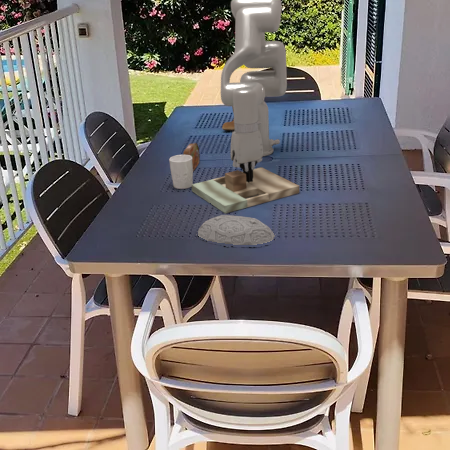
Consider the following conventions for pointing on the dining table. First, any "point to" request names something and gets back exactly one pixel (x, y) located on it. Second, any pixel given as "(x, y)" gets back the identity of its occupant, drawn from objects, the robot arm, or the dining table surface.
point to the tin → (193, 154)
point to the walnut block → (235, 180)
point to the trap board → (245, 191)
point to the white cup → (181, 171)
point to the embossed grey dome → (235, 230)
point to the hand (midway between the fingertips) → (248, 180)
